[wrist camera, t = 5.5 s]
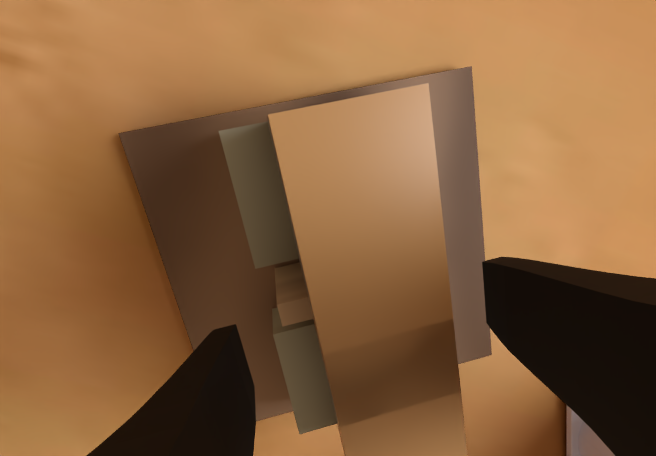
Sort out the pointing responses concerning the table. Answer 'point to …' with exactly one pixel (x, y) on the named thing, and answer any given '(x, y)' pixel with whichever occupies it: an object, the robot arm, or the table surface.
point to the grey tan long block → (376, 268)
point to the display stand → (288, 237)
